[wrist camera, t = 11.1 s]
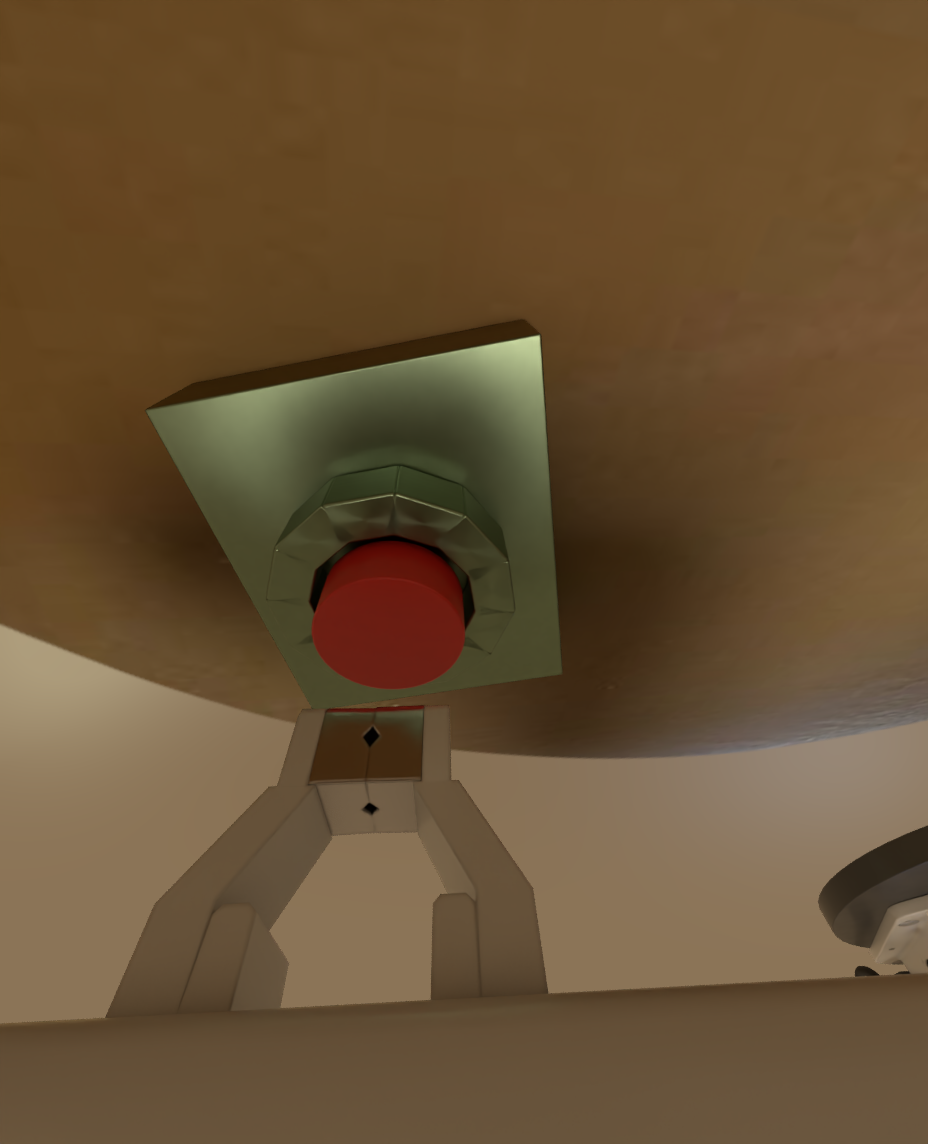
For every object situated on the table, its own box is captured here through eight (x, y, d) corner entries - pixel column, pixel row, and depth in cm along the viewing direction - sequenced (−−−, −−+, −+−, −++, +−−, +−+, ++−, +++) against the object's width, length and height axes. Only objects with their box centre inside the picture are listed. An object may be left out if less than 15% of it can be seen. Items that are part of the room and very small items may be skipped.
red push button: (472, 636, 15) (475, 679, 13) (349, 655, 15) (339, 699, 13) (448, 528, 12) (449, 565, 11) (303, 552, 12) (286, 592, 11)
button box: (549, 627, 20) (574, 713, 16) (326, 661, 21) (302, 751, 17) (524, 318, 13) (557, 346, 9) (190, 383, 14) (100, 433, 10)
